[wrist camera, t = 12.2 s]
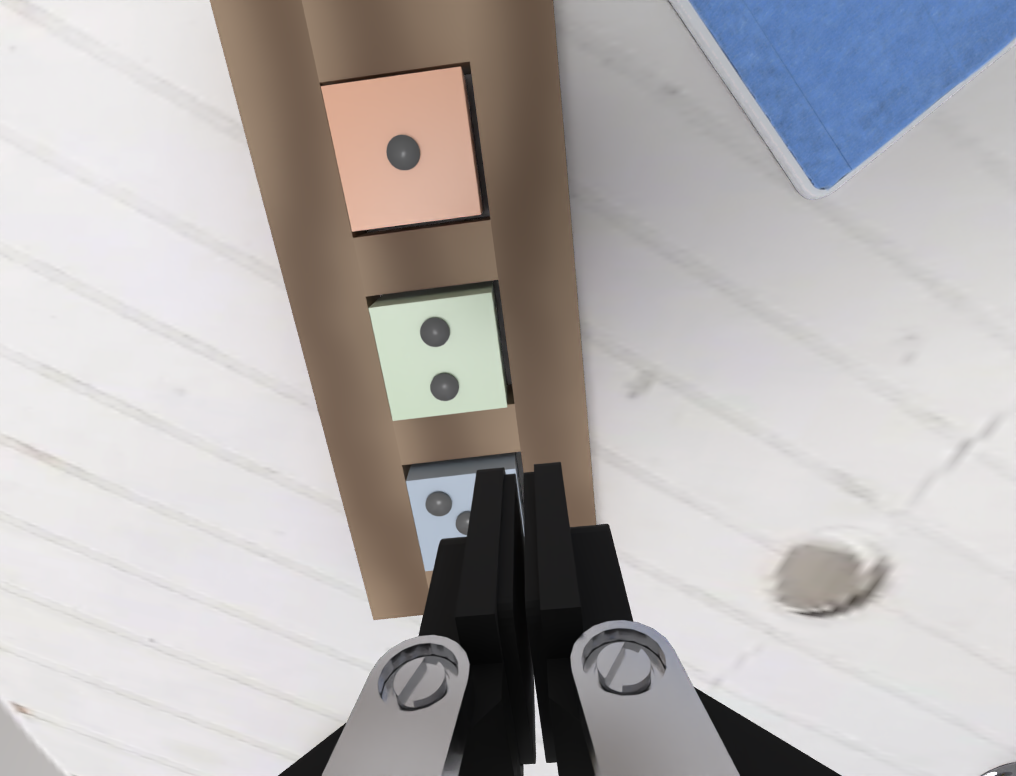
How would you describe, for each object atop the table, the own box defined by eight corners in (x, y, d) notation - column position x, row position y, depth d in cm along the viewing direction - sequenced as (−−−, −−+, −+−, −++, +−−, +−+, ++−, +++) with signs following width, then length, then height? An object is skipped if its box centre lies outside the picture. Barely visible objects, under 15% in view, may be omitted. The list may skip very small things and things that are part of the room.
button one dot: (466, 80, 22) (460, 65, 19) (483, 210, 24) (480, 214, 21) (343, 97, 23) (318, 85, 20) (369, 225, 24) (350, 231, 21)
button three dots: (514, 439, 28) (515, 470, 25) (525, 524, 30) (528, 562, 27) (415, 451, 28) (405, 483, 25) (432, 534, 30) (424, 574, 27)
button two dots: (492, 279, 25) (491, 293, 22) (506, 383, 27) (507, 409, 24) (383, 293, 25) (367, 309, 22) (404, 395, 27) (392, 422, 24)
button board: (543, -32, 22) (548, -58, 19) (594, 564, 31) (602, 595, 29) (239, 13, 22) (207, -7, 20) (383, 587, 32) (373, 620, 29)
